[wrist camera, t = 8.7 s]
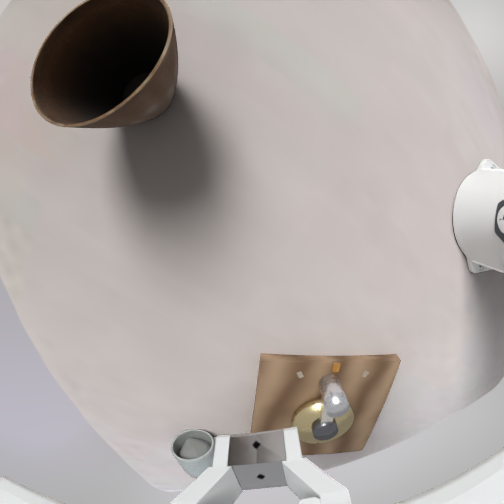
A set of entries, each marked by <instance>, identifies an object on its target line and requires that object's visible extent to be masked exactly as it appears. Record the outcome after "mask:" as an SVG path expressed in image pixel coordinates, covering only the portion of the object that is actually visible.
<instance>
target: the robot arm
mask: <svg viewBox="0 0 504 504" xmlns="http://www.w3.org/2000/svg"><path fill="white" fill-rule="evenodd" d="M453 227H454V233H455V237H456V240H457V242H458V245H459V247H460V248H461V250H462V251H463V253H464V254H465V256H466V258H467V262H468V267H469V270H470V271H471V272H473V273H480V272H484V271H488V270H492V269H493V270H496V271H499V272H502V273H504V169H501V168H500V167H498V166H497V165H496V164H495V163H493V162H492V161H491V160H489V159H483V160H482V161H481V163H480V165H479V166H478V168H477V170H476V171H475V172H473V173H472V174H470V175H469V176H468V177H466V179H465V180H464V181H463V182H462V184H461V186H460V188H459V190H458V192H457V195H456V198H455V202H454V209H453ZM479 265H480V266H479ZM281 486H288V488H289V489H290V490H291V491H292V492H293V493H294V494H295V495H296V496H297V497H298V498H299V499H300V500H301V501H300V502H299V504H352V502H351V499H350V495H349V491H348V489H347V488H346V487H344V486H343V485H342V484H340V483H339V482H337V481H336V480H335V479H333V478H332V477H331V476H329V475H328V474H326V473H325V472H324V471H323V470H321V469H320V468H319V467H318V466H316V465H315V464H314V463H312V462H311V461H310V460H309V459H307V458H302V453H301V447H300V441H299V435H298V429H297V427H291V428H285V429H278V430H271V431H264V432H257V433H248V434H233V435H218V436H217V438H216V443H215V451H214V458H213V465H212V467H208V468H207V469H206V470H205V471H204V472H203V473H202V474H201V475H200V476H199V477H198V478H197V479H196V480H195V481H193V482H192V483H191V484H190V485H189V486H188V487H187V488H186V489H185V490H184V491H183V492H182V493H181V494H179V495H178V496H177V497H176V498H175V499H174V500H173V501H171V502H170V504H233V503H234V502H235V501H236V499H237V498H238V496H239V495H240V494H241V493H242V490H248V489H249V490H250V489H259V488H270V487H281ZM0 504H64V503H61V502H59V501H56V500H54V499H51V498H49V497H46V496H44V495H42V494H40V493H37V492H35V491H33V490H31V489H28V488H27V487H25V486H23V485H21V484H18V483H16V482H15V481H13V480H11V479H9V478H7V477H0ZM396 504H504V448H502V449H501V450H500V451H498V452H496V453H495V454H493V455H492V456H490V457H489V458H487V459H486V460H484V461H482V462H481V463H479V464H478V465H476V466H474V467H473V468H471V469H469V470H467V471H466V472H464V473H462V474H460V475H458V476H456V477H455V478H453V479H451V480H449V481H447V482H445V483H443V484H441V485H439V486H437V487H435V488H432V489H430V490H428V491H426V492H424V493H421V494H419V495H417V496H414V497H412V498H409V499H406V500H404V501H401V502H399V503H396Z"/></svg>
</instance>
